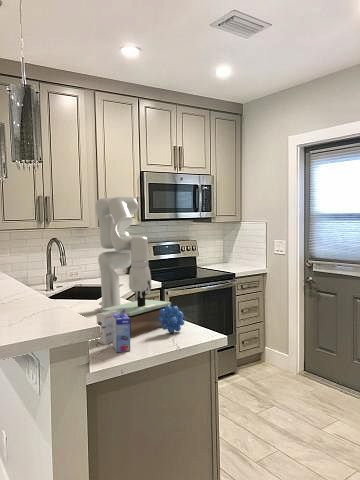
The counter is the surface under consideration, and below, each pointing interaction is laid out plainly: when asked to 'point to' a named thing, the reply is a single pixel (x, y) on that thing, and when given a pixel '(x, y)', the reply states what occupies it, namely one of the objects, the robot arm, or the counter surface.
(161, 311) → the grapes
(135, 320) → the storage box
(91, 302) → the counter surface
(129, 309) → the lid
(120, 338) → the ink cartridge box
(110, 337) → the ink box
